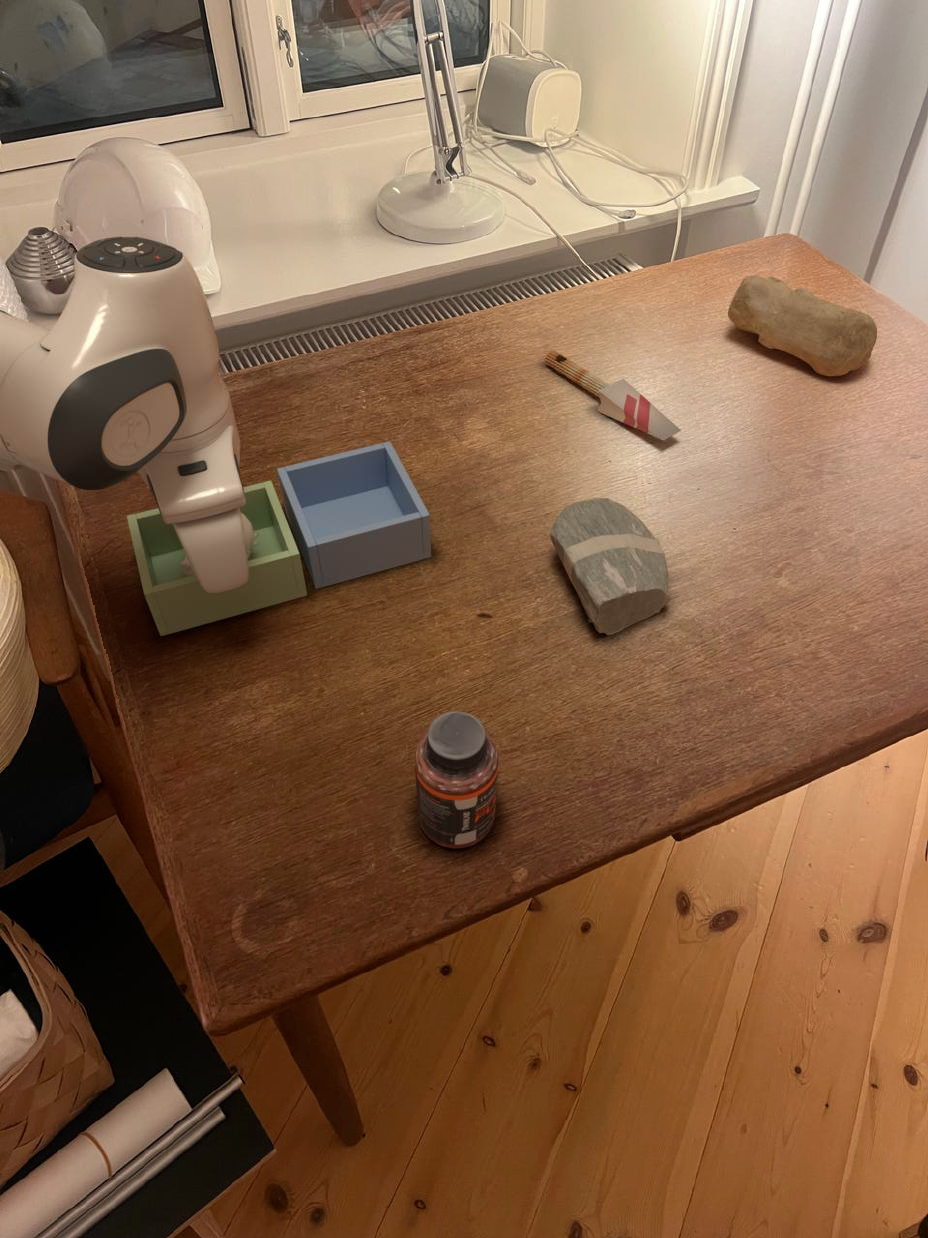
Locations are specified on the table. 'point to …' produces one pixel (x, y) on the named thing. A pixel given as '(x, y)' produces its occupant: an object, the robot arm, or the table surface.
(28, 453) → the robot arm
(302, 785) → the table surface
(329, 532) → the blue bin
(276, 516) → the sage bin
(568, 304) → the table surface
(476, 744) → the supplement bottle
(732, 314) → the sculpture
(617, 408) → the trowel
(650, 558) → the decorative stone
